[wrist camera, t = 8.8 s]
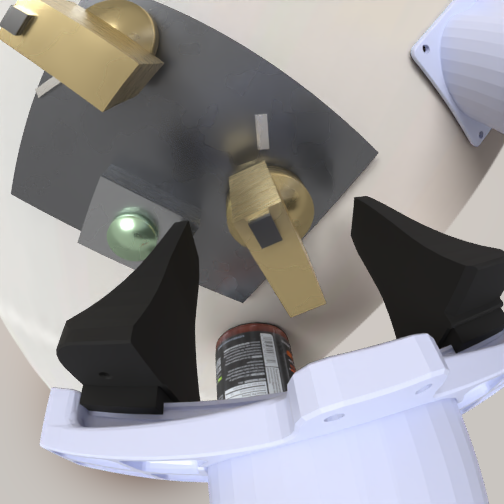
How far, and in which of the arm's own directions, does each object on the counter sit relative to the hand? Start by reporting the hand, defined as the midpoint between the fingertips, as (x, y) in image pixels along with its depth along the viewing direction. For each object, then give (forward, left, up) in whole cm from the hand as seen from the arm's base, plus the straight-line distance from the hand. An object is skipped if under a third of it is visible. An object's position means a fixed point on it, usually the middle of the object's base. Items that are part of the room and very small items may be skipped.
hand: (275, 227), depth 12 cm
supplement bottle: (+11, +7, -3) cm, 14 cm away
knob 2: (0, 0, -2) cm, 2 cm away
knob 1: (-3, -10, -2) cm, 11 cm away
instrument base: (+1, -5, -3) cm, 6 cm away
